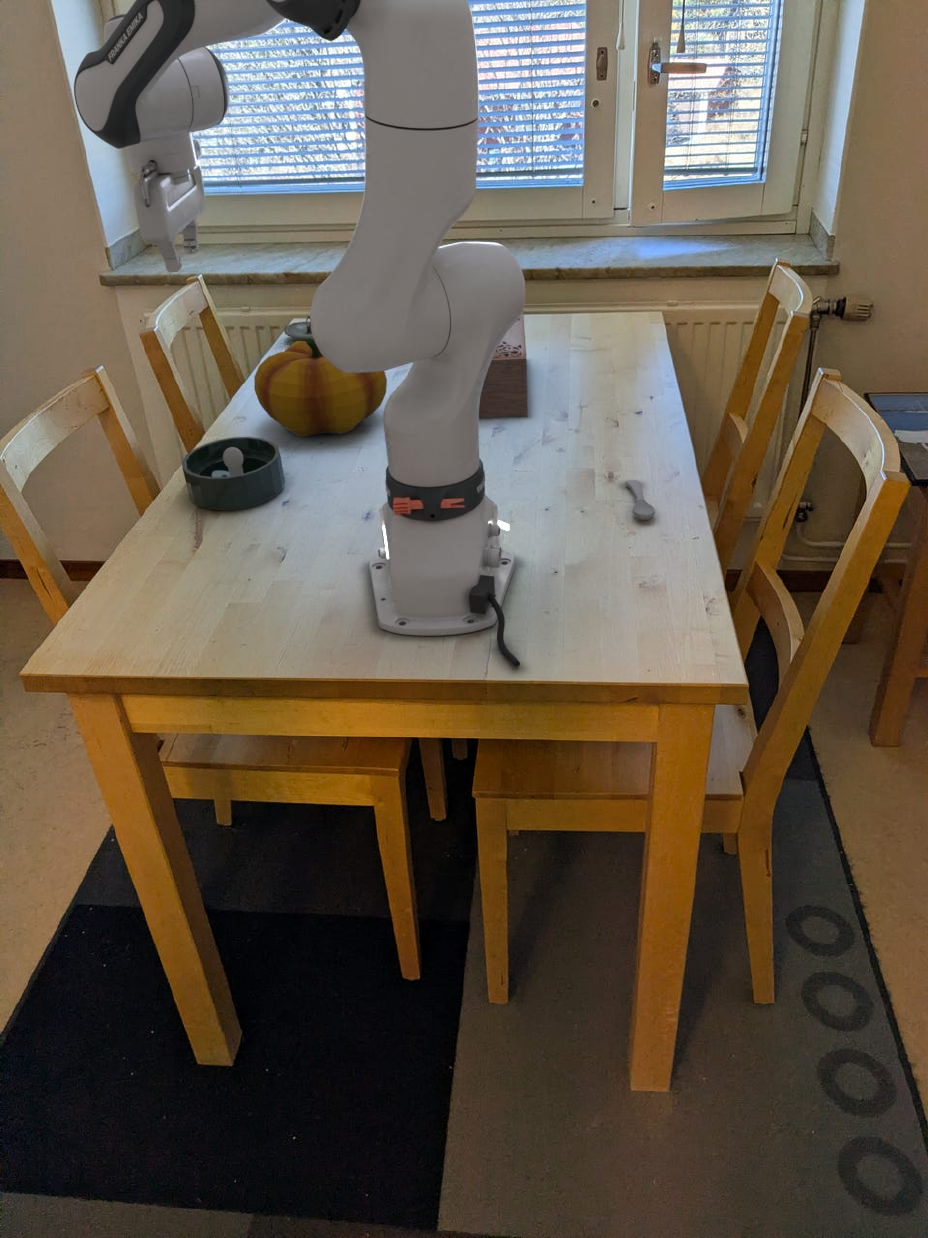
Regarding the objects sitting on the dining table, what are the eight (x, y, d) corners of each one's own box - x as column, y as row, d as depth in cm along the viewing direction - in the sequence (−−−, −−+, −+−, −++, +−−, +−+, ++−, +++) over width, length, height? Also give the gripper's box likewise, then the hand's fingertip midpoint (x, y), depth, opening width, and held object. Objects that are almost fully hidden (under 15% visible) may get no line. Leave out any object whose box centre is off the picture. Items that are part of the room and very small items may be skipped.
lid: (283, 342, 207) (274, 321, 204) (324, 321, 209) (315, 300, 206) (301, 358, 200) (292, 336, 196) (343, 336, 202) (335, 314, 198)
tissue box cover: (527, 416, 164) (526, 358, 159) (441, 420, 165) (437, 362, 160) (524, 361, 186) (523, 309, 180) (448, 365, 186) (444, 312, 181)
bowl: (275, 511, 142) (269, 476, 139) (179, 514, 142) (170, 480, 139) (292, 467, 153) (286, 434, 150) (203, 471, 154) (195, 438, 151)
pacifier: (256, 499, 144) (266, 479, 149) (248, 461, 141) (258, 442, 145) (207, 499, 145) (219, 480, 150) (198, 461, 141) (210, 443, 146)
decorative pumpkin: (390, 442, 159) (380, 352, 150) (254, 452, 159) (236, 362, 150) (391, 395, 175) (382, 311, 167) (268, 404, 175) (253, 321, 167)
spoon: (634, 524, 132) (635, 510, 131) (621, 489, 143) (621, 476, 142) (656, 523, 132) (657, 509, 131) (641, 488, 143) (642, 475, 142)
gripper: (162, 168, 122) (186, 281, 130) (203, 140, 139) (222, 241, 147) (113, 170, 122) (139, 283, 130) (159, 142, 139) (180, 244, 147)
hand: (183, 261), depth 139 cm, fingers open, 8 cm apart
